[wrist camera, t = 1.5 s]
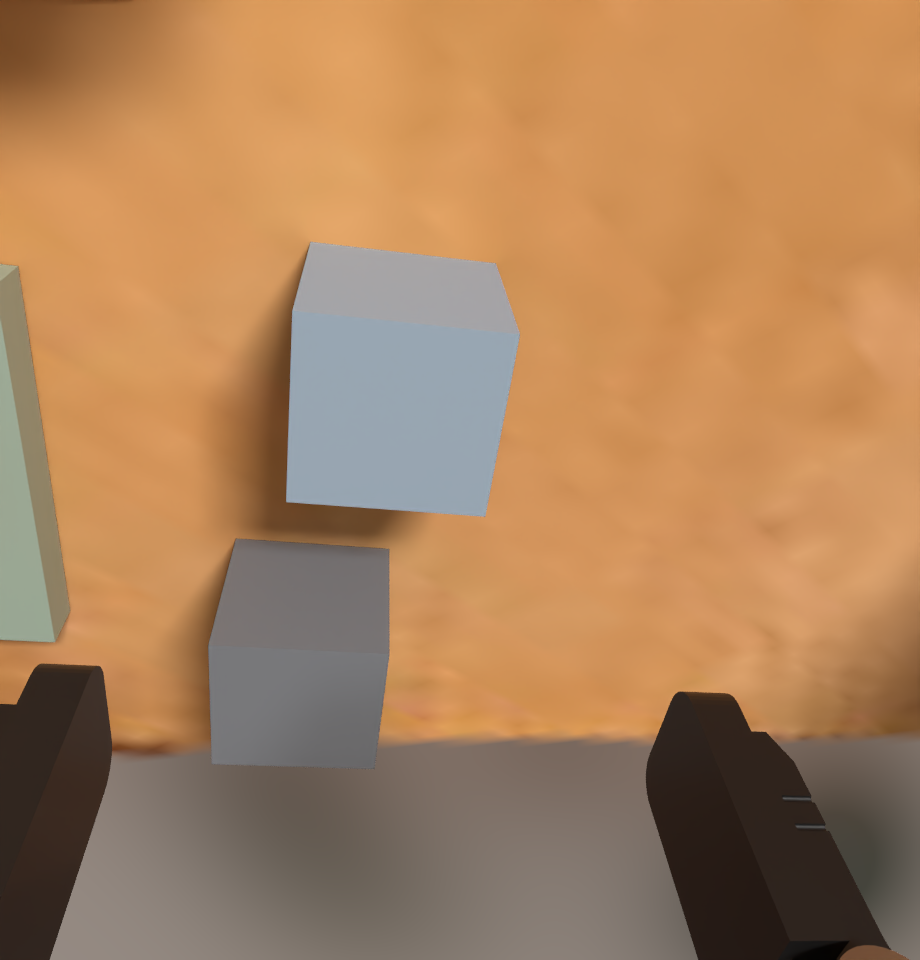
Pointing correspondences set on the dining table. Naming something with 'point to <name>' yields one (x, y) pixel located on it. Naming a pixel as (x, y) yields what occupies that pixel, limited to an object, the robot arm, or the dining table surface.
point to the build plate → (25, 489)
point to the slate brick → (299, 655)
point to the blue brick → (397, 380)
